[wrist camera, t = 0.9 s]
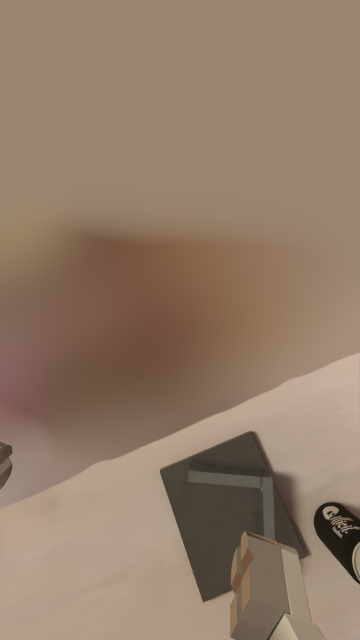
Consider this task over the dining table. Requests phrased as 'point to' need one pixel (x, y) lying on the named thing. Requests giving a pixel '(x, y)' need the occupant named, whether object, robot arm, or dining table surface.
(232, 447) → the v block
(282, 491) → the dining table surface
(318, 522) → the beverage can
